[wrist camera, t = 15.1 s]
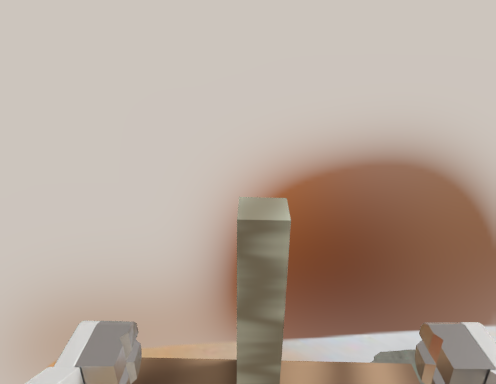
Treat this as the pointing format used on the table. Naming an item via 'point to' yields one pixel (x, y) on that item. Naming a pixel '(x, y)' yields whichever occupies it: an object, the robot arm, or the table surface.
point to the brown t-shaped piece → (265, 319)
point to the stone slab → (398, 359)
